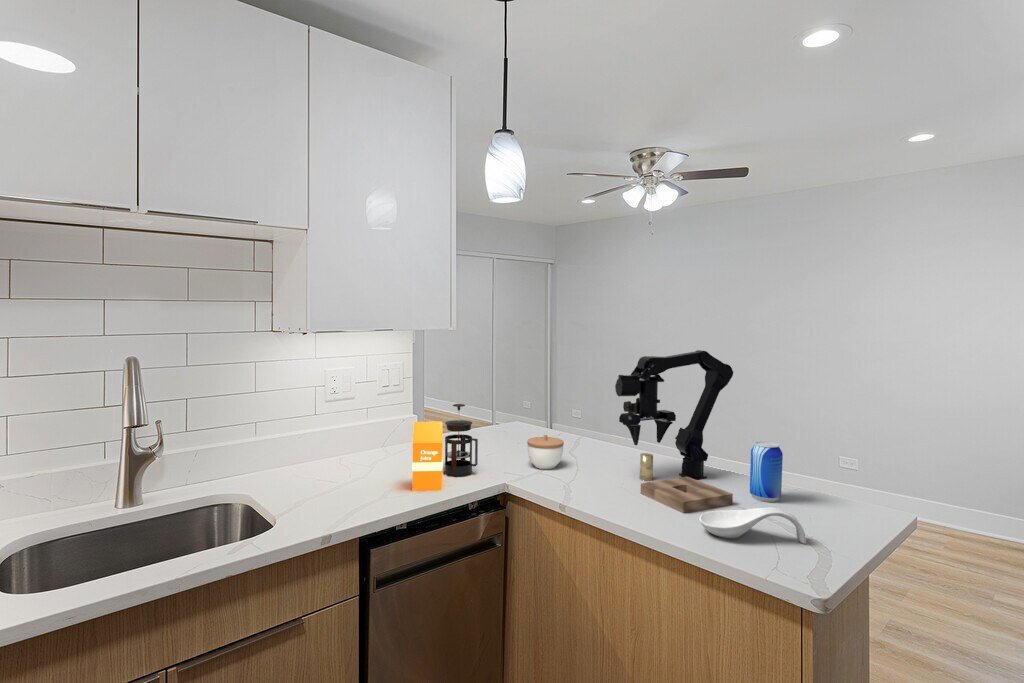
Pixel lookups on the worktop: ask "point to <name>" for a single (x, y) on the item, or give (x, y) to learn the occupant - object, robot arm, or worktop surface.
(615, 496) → the worktop surface
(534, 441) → the lidded bowl
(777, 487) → the beer can
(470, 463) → the french press
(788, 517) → the spoon rest
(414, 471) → the orange juice
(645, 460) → the brass sleeve
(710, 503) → the walnut jig
